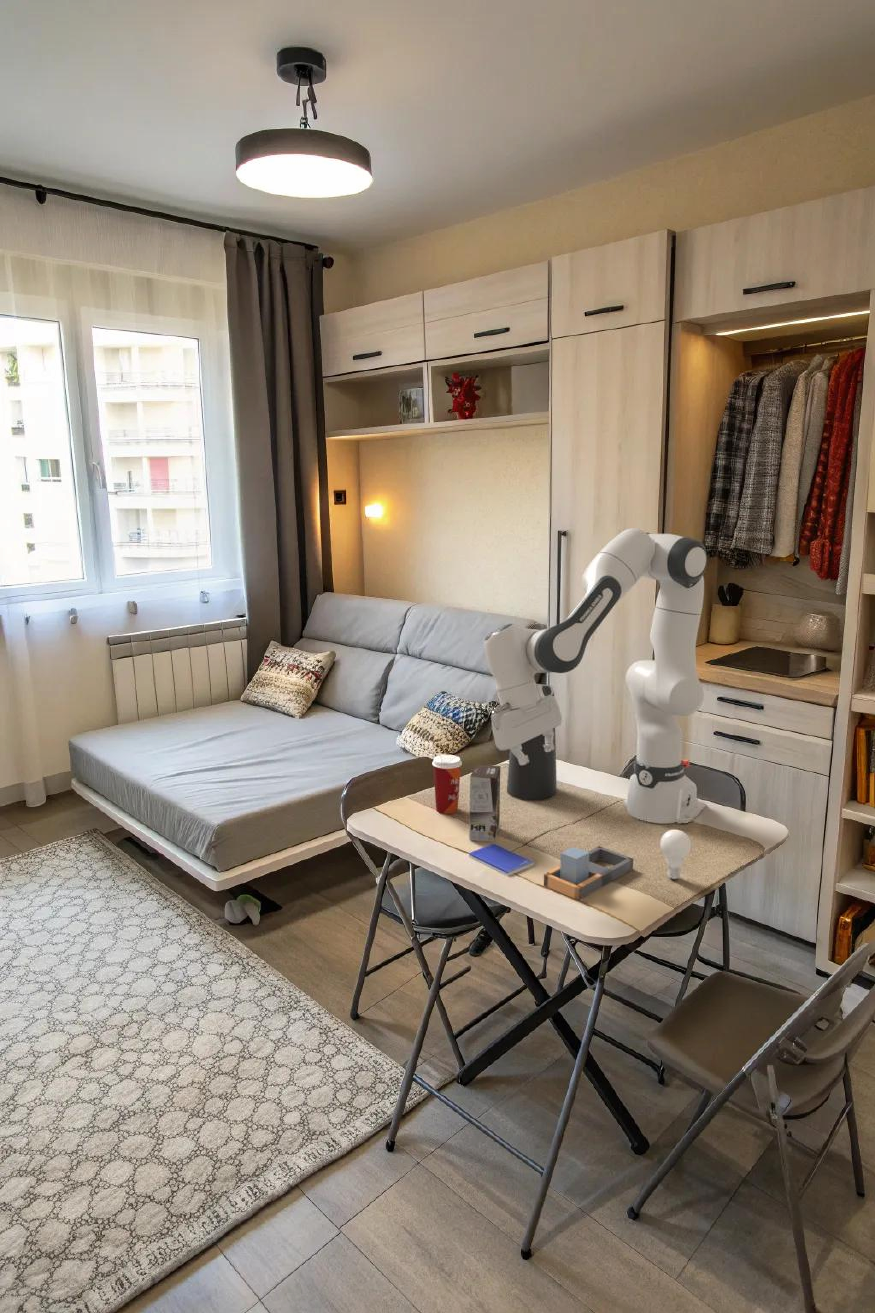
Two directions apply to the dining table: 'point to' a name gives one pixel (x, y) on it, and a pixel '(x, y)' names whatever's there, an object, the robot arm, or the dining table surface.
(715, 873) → the dining table surface
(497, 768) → the coffee box
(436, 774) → the paper cup
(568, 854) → the plug
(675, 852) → the lightbulb
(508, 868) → the hard drive
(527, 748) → the vase
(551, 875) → the grey orange rectangular frame
